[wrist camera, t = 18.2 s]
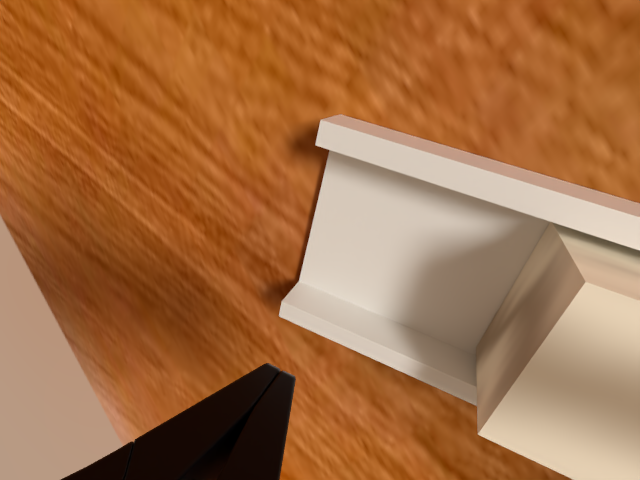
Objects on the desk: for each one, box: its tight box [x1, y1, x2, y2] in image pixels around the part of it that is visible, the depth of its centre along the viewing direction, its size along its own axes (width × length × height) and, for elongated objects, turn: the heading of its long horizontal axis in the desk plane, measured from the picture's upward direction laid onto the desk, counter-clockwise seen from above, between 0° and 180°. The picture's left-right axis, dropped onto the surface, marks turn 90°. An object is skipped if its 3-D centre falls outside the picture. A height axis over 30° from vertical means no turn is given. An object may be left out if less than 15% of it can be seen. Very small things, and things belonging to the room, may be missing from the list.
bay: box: [279, 114, 640, 406], centre depth 15 cm, size 10×18×2 cm, turn 77°
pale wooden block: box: [476, 222, 640, 480], centre depth 13 cm, size 7×8×5 cm
